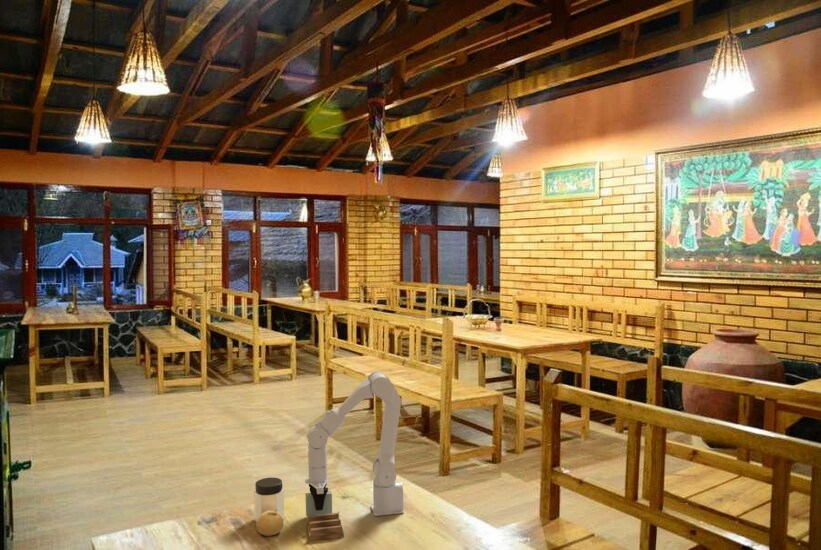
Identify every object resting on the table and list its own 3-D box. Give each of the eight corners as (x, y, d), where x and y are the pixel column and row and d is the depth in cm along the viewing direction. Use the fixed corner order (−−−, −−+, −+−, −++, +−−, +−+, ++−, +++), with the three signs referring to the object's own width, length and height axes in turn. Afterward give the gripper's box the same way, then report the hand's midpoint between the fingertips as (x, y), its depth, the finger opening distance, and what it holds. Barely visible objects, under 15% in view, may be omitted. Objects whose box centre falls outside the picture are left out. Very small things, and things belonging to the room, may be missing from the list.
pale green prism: (331, 510, 205) (330, 490, 205) (332, 513, 203) (331, 493, 202) (305, 513, 203) (305, 493, 203) (306, 516, 201) (305, 496, 200)
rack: (339, 521, 199) (339, 512, 199) (344, 536, 189) (343, 526, 189) (307, 525, 197) (306, 515, 197) (309, 540, 187) (309, 530, 187)
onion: (256, 540, 187) (256, 516, 187) (255, 529, 195) (255, 505, 195) (284, 537, 190) (284, 513, 189) (282, 525, 197) (282, 502, 197)
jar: (288, 520, 200) (287, 482, 200) (264, 528, 195) (263, 489, 194) (274, 511, 207) (274, 474, 206) (251, 518, 202) (250, 481, 201)
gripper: (303, 458, 208) (304, 500, 209) (306, 474, 194) (307, 519, 195) (325, 456, 210) (326, 497, 211) (329, 472, 196) (331, 516, 196)
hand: (318, 507), depth 203 cm, fingers closed on pale green prism, 2 cm apart
